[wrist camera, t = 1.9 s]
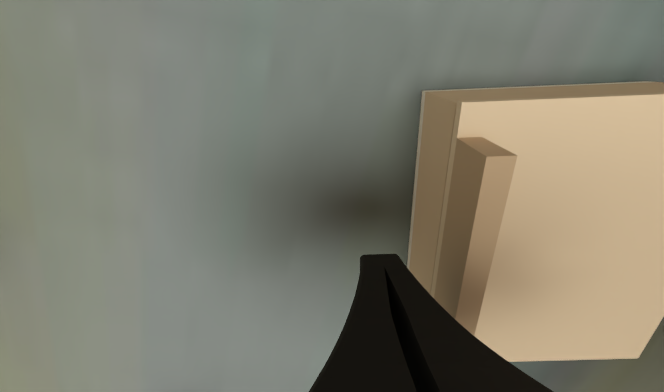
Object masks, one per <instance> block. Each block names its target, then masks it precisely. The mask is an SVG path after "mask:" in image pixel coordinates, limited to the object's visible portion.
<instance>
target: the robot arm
mask: <svg viewBox="0 0 664 392" xmlns="http://www.w3.org/2000/svg"><path fill="white" fill-rule="evenodd" d="M309 392H553V391H552V390H550V389H548V388H547V387H545V386H544V385H542V384H541V383H539V382H538V381H536V380H534V379H533V378H531V377H530V376H528V375H527V374H525V373H524V372H522V371H521V370H519V369H518V368H516V367H515V366H514V365H512V364H511V363H509V362H508V361H507V360H505V359H504V358H502V357H501V356H500V355H498V354H497V353H496V352H494V351H493V350H492V349H490V348H489V347H488V346H486V345H485V344H484V343H482V342H481V341H480V340H479V339H477V338H476V337H475V336H474V335H472V334H471V333H470V332H469V331H468V330H467V329H465V328H464V327H463V326H462V325H461V324H460V323H459V322H458V321H456V320H455V319H454V318H453V317H452V316H451V315H450V314H449V313H448V312H447V311H446V310H445V309H444V308H443V307H442V306H441V305H440V304H439V303H438V302H437V301H436V300H435V299H434V298H433V297H432V296H431V295H430V294H429V293H428V291H427V290H426V289H425V288H424V287H423V286H422V285H421V284H420V283H419V281H418V280H417V279H416V278H415V277H414V275H413V274H412V273H411V272H410V271H409V269H408V268H407V267H406V266H405V264H404V263H403V262H402V260H401V259H400V258H399V256H398V255H397V254H376V255H363V256H361V257H360V276H359V281H358V286H357V290H356V294H355V297H354V300H353V303H352V306H351V309H350V312H349V315H348V318H347V320H346V323H345V325H344V327H343V330H342V332H341V334H340V336H339V339H338V341H337V343H336V345H335V347H334V349H333V351H332V353H331V355H330V357H329V359H328V360H327V362H326V364H325V366H324V367H323V369H322V371H321V372H320V374H319V376H318V377H317V379H316V381H315V382H314V384H313V386H312V387H311V389H310V391H309Z"/></svg>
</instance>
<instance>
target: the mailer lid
mask: <svg viewBox="0 0 664 392" xmlns="http://www.w3.org/2000/svg"><path fill="white" fill-rule="evenodd" d="M431 296H432V297H433V298H434V299H435V300H436V301H437V302H438V303H439V304H440V305H441V306H442V307H443V308H444V309H445V310H446V311H447V312H448V313H449V314H450V315H451V316H452V317H453V318H454V319H455V320H456V321H458V322H459V323H460V324H461V325H462V326H463V327H464V328H465V329H467V330H468V331H469V332H470V333H471V334H472V335H474V336H475V337H476V338H477V339H479V340H480V341H481V342H482V343H484V344H485V345H486V346H488V347H489V348H490V349H492V350H493V351H494V352H496V353H497V354H498V355H500V356H501V357H502V358H504V359H505V360H507V361H508V362H518V361H556V360H594V359H632V358H639V356H640V354H641V353H642V351H643V349H644V348H645V346H646V345H647V343H648V341H649V340H650V338H651V336H652V335H653V333H654V331H655V330H656V328H657V326H658V325H659V323H660V322H661V320H662V318H663V317H664V92H658V93H634V94H610V95H586V96H562V97H538V98H514V99H490V100H466V101H457V105H456V112H455V119H454V127H453V134H452V141H451V149H450V156H449V163H448V171H447V178H446V185H445V192H444V200H443V207H442V214H441V222H440V229H439V236H438V244H437V251H436V258H435V266H434V273H433V280H432V288H431Z"/></svg>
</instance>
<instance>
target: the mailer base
mask: <svg viewBox="0 0 664 392" xmlns="http://www.w3.org/2000/svg"><path fill="white" fill-rule="evenodd" d="M658 92H664V82H650V81H640V82H616V83H592V84H569V85H545V86H521V87H498V88H474V89H450V90H426V91H422V99H421V111H420V122H419V134H418V145H417V157H416V168H415V180H414V191H413V203H412V215H411V226H410V238H409V249H408V261H407V268H408V269H409V271H410V272H411V273H412V274H413V275H414V277H415V278H416V279H417V280H418V281H419V283H420V284H421V285H422V286H423V287H424V288H425V289H426V290H427V291H428V293H429V294H430V295H431V288H432V280H433V273H434V266H435V258H436V251H437V244H438V236H439V229H440V222H441V214H442V207H443V200H444V192H445V185H446V178H447V171H448V163H449V156H450V149H451V141H452V134H453V127H454V119H455V112H456V105H457V101H466V100H490V99H514V98H538V97H562V96H586V95H610V94H634V93H658Z"/></svg>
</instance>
